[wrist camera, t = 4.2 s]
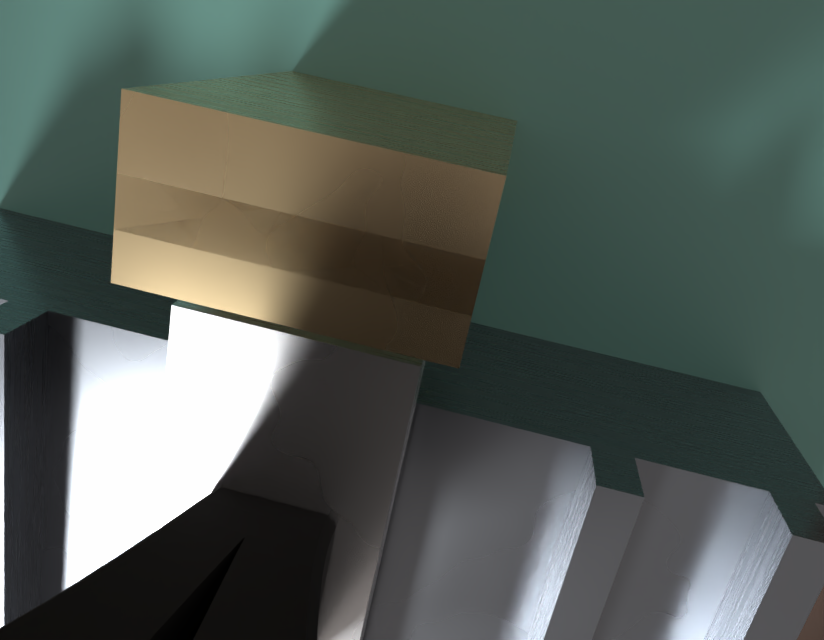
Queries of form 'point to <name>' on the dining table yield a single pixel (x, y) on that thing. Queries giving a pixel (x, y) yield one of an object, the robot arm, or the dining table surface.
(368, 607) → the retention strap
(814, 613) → the dining table surface
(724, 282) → the circuit board
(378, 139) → the heat sink
